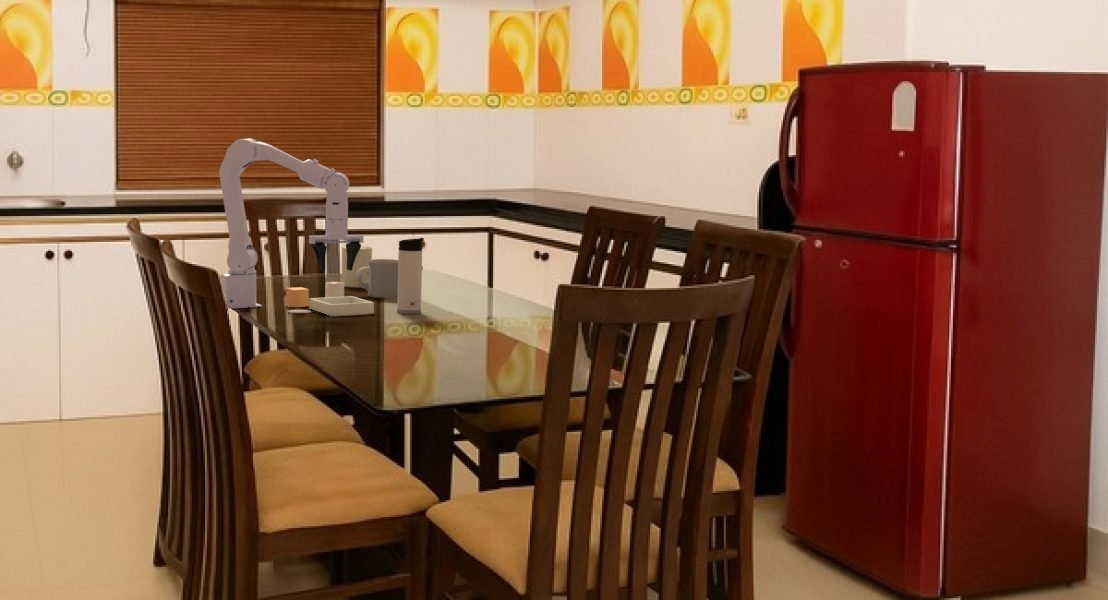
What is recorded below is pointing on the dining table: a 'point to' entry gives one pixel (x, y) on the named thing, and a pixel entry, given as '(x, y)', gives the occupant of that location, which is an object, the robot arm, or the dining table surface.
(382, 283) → the coffee mug
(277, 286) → the dining table surface
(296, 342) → the dining table surface
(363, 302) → the tray
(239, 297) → the robot arm
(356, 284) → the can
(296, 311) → the grey flat disc
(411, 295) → the travel mug
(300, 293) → the block
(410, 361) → the dining table surface
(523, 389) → the dining table surface
